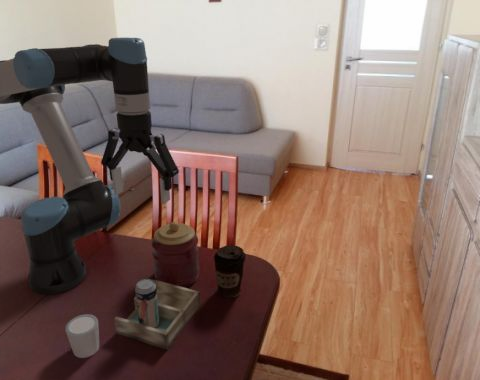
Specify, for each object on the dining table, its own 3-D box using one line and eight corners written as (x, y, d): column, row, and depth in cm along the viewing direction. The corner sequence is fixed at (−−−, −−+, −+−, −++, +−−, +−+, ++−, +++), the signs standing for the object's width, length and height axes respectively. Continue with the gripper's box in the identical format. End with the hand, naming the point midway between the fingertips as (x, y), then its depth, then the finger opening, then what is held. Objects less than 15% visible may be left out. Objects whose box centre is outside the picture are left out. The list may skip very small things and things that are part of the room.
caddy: (116, 333, 96) (114, 318, 94) (154, 292, 110) (152, 279, 108) (167, 350, 91) (166, 334, 89) (199, 305, 105) (199, 291, 103)
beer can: (136, 321, 98) (132, 281, 93) (155, 315, 100) (152, 275, 95) (142, 334, 94) (137, 292, 89) (161, 327, 96) (158, 286, 91)
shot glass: (75, 338, 94) (70, 314, 91) (105, 336, 95) (101, 313, 92) (66, 361, 88) (60, 336, 85) (98, 359, 88) (93, 335, 86)
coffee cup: (241, 303, 106) (241, 262, 101) (210, 299, 107) (209, 258, 102) (247, 283, 114) (248, 244, 108) (219, 280, 115) (218, 241, 110)
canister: (206, 267, 121) (204, 215, 114) (189, 293, 110) (186, 237, 102) (166, 260, 124) (162, 209, 117) (146, 284, 113) (140, 230, 106)
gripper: (77, 109, 91) (90, 194, 99) (173, 120, 82) (178, 212, 91) (99, 103, 97) (110, 183, 106) (190, 113, 89) (194, 199, 97)
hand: (141, 197), depth 98 cm, fingers open, 13 cm apart
